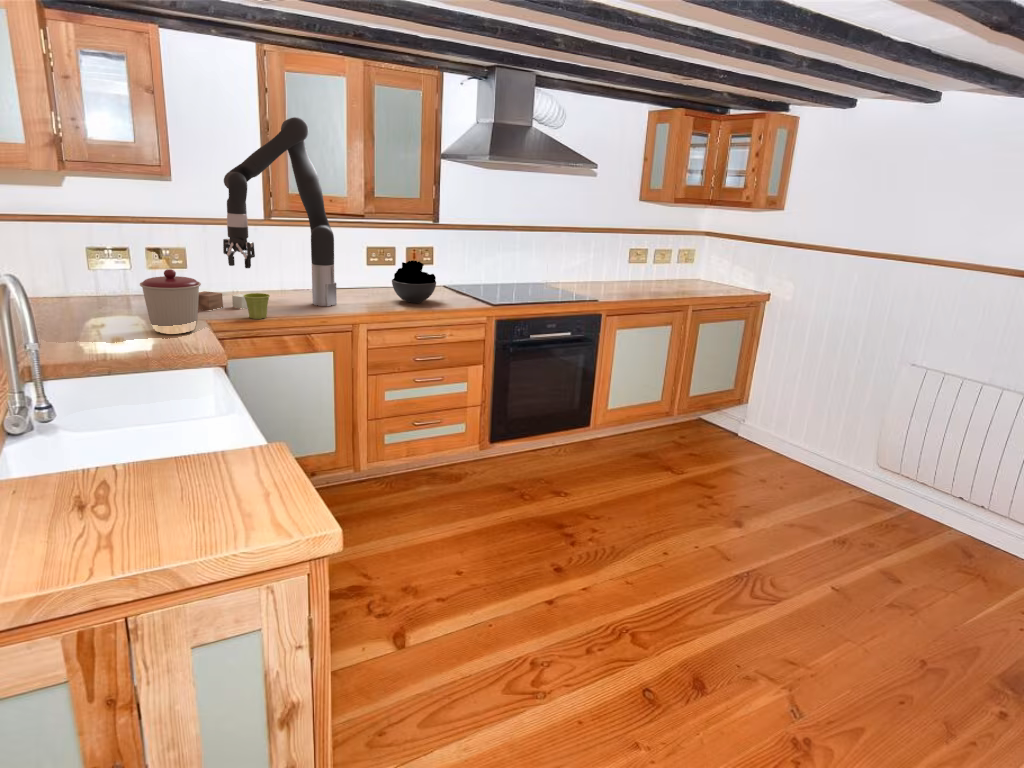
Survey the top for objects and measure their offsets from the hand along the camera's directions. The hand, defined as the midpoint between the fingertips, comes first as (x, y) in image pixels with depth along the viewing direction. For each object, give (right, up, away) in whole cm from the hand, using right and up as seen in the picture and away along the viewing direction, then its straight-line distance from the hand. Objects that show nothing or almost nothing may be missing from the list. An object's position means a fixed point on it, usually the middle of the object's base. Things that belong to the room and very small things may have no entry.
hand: (239, 266), depth 259 cm
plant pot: (+11, -22, -11) cm, 27 cm away
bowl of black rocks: (+64, -9, +39) cm, 75 cm away
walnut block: (-12, -17, -1) cm, 21 cm away
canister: (-6, -29, -39) cm, 49 cm away
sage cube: (-1, -16, +5) cm, 16 cm away
